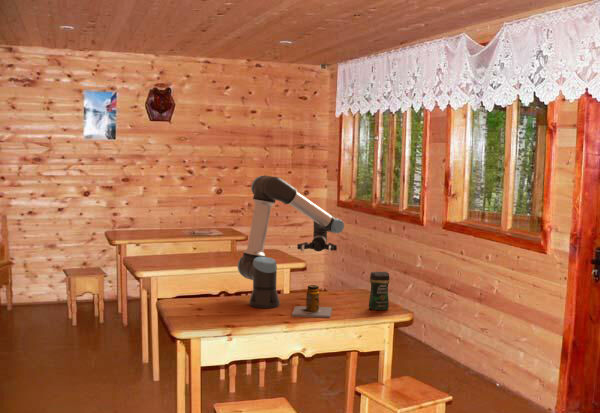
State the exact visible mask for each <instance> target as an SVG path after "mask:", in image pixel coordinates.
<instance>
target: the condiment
mask: <svg viewBox="0 0 600 413" xmlns="http://www.w3.org/2000/svg"><path fill="white" fill-rule="evenodd" d="M305 302H306V303H305V304H306V309H299V310H301V311H303V312H306V313H312V312H321V310H319V307H320V291H319V286H318V285H315V284H311V285H308V286H307V291H306V301H305Z"/></svg>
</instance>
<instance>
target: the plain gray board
mask: <svg viewBox="0 0 600 413" xmlns="http://www.w3.org/2000/svg"><path fill="white" fill-rule="evenodd" d="M299 309H306V306H303V305H300V306H299V305H295V306H294V308H293V311H292V312H291V317H299V318H301V317H302V318H303V317H304V318H322V319H323V318H324V319H326V318H328V319H330V318H331V315H332V311H333V307H332V306H331V307H328V306H327V307H326V306H319V310H321V312H312V313H306V312H303V311H301V310H299Z"/></svg>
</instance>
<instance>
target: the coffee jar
mask: <svg viewBox="0 0 600 413" xmlns="http://www.w3.org/2000/svg"><path fill="white" fill-rule="evenodd" d="M390 279H391V278H390V273H389V272H387V271H371V272H370V276H369V282H370V294H369V299H368V308H369V309H370V310H373V311H386V310H389V305H390V302H389V283H390Z"/></svg>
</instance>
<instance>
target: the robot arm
mask: <svg viewBox="0 0 600 413" xmlns="http://www.w3.org/2000/svg"><path fill="white" fill-rule="evenodd" d="M250 188H251V189H250V190H251V192H252V194H253V195H252V201H253V202H254V209H253V213H252V218H251V219H252V220H251V225H250V231H249V236H248V242H247V247H246V249H245V250H244V251H243V252H242V256H241V257H240V258H239V259H238V262H237V271H238V273H239V274H240V275H241V276H242V277H243V278H244V279H246V280H247V279H248V280H250V281H252V292H251V295H250V297H249V306H250V307H252V308H256V309H257V308H258V309H273V308H277V307H279V306H280V302H281V301H280V297H279V294H278V291H277V275H278V274H277V270H278V266H277V261H276V260H275V259H274V258H272V257H268V256H266V254H265V252H264V250H265V245H266V240H267V233H268V228H269V221H270V217H271V211H272V210H271V209H272V206H275V204H276V201H277V202H278V201H279V202H281V203H283V204H284V205H288V206H291V207H292V208H294V209H295V210H297V211H299V212H300V213H301V214H303V215H304V216H306V217H307V218H309V219H311V220H312V222H313V234H312V236H313V237H312V238H313V239H312V240H311V242H309V243H308V242H307V241H305V242H302V243H297V246H296V248H297V250H300V251H301V253H303V252H304V251H305V250H309V249H310V250H313V251H315V252H322V251H324V250H328V253H329V254H330V253H331V252H332V251H337V250H338V248H337V247H338V246H337V245H336V244H333V243H331V242H328V232H330V233H332V234H340V233H342V232H343V231H344V228H345V223H344V221H343V220H342V219H340V218H336V217H334V216H333V215H331V214H330V213H329V212H328V211H325V210H324V209H323V208H321V207H320V206H319V205H317V204H315V203H314V202H312V201H311V200H310V199H308V198H307V197H305V196H304V195H303V194H300V192H298V190H297V188H296V187H294V186H293V185H291V183H289V182H287V181H286V180H284V179H283V178H281V177H279V176H272V175H265V174H264V175H260V176H257V177H256V178H255V179H254V180H253V181H252V183H251V187H250Z"/></svg>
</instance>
